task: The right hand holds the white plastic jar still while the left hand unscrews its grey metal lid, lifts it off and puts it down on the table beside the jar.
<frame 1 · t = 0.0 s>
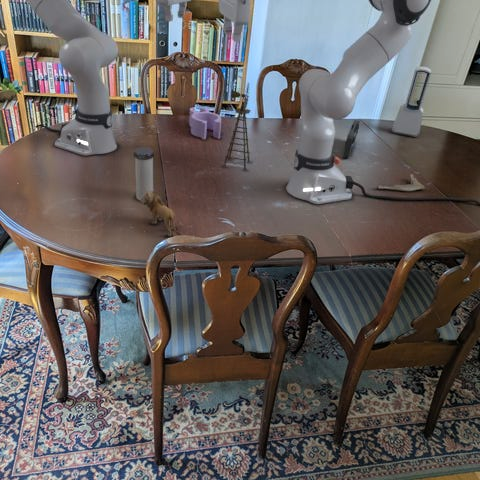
left hand: (175, 19, 144), 48 cm above the table, tool pointing down, fingers open, 8 cm apart
right hand: (231, 37, 127), 48 cm above the table, tool pointing down, fingers open, 8 cm apart
handheld gaming console: (349, 150, 197), on the table
lion figurine: (160, 226, 133), on the table
jar: (144, 197, 146), on the table
miniature windmill: (236, 164, 174), on the table
jawbone: (396, 185, 172), on the table
clip: (203, 131, 201), on the table
lid: (143, 151, 138), point 15 cm above the table, screwed on, not yet turned
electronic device: (404, 133, 222), on the table
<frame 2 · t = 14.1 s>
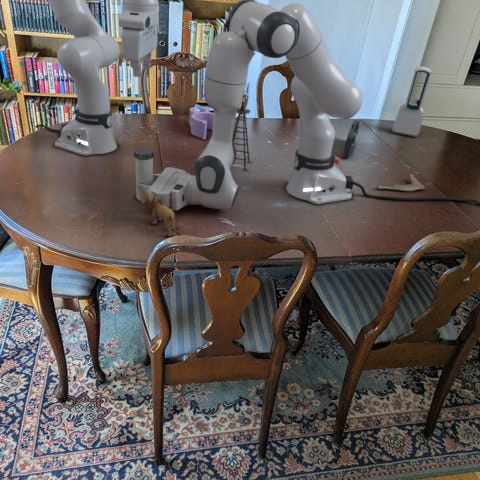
left hand: (142, 72, 126), 38 cm above the table, tool pointing down, fingers open, 8 cm apart
right hand: (141, 181, 143), 5 cm above the table, tool horizontal, fingers closed on jar, 5 cm apart
jar: (144, 197, 146), on the table, touching right hand
everything else where it was.
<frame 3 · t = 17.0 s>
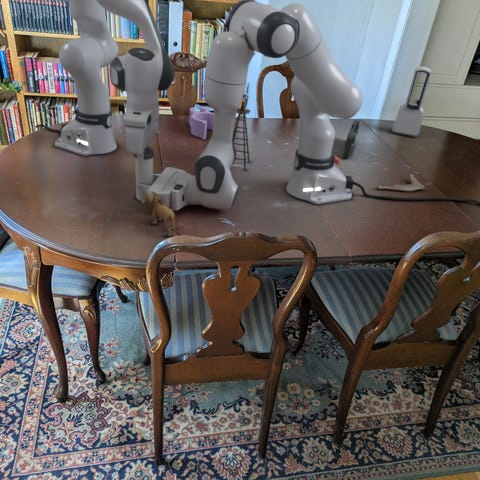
left hand: (143, 156, 139), 14 cm above the table, tool pointing down, fingers closed on lid, 5 cm apart
right hand: (141, 181, 143), 5 cm above the table, tool horizontal, fingers closed on jar, 5 cm apart
jar: (144, 197, 146), on the table, touching right hand
lid: (143, 151, 138), point 15 cm above the table, screwed on, not yet turned, touching left hand
everything else where it was.
when the left hand's fingers open (14 cm above the table, at t = 18.4 s): lid stays where it is, point 15 cm above the table.
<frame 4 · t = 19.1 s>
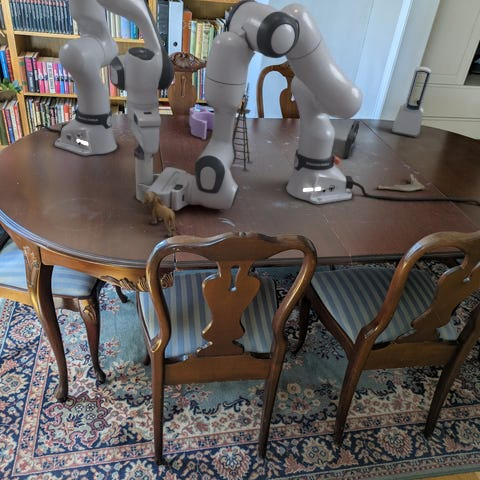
left hand: (143, 156, 139), 14 cm above the table, tool pointing down, fingers open, 8 cm apart
right hand: (141, 181, 143), 5 cm above the table, tool horizontal, fingers closed on jar, 5 cm apart
jar: (144, 197, 146), on the table, touching right hand
lid: (143, 151, 138), point 15 cm above the table, turned 84° so far, risen 0.2 cm, still on its thread
everything else where it was.
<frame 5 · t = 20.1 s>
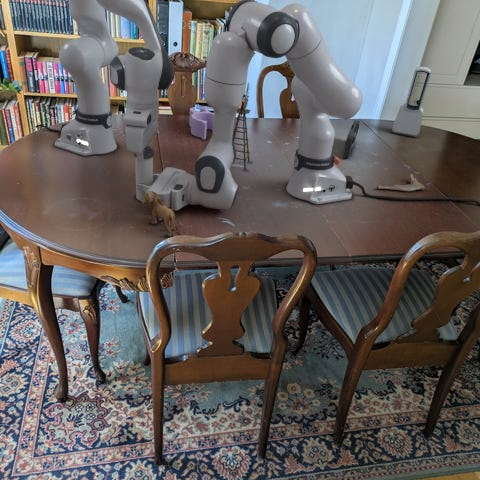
left hand: (143, 156, 139), 14 cm above the table, tool pointing down, fingers closed on lid, 5 cm apart
right hand: (141, 181, 143), 5 cm above the table, tool horizontal, fingers closed on jar, 5 cm apart
jar: (144, 197, 146), on the table, touching right hand
lid: (143, 151, 138), point 15 cm above the table, turned 84° so far, risen 0.2 cm, still on its thread, touching left hand
everything else where it was.
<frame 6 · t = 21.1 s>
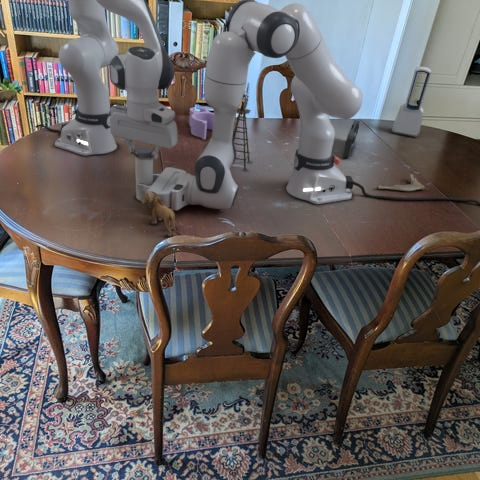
left hand: (144, 155, 139), 14 cm above the table, tool pointing down, fingers closed on lid, 5 cm apart
right hand: (141, 181, 143), 5 cm above the table, tool horizontal, fingers closed on jar, 5 cm apart
jar: (144, 197, 146), on the table, touching right hand
lid: (143, 150, 138), point 16 cm above the table, off its thread, touching left hand
everything else where it was.
when the left hand's fingers open (2 cm above the table, at t = 28.9 s): lid drops 2 cm, point 1 cm above the table.
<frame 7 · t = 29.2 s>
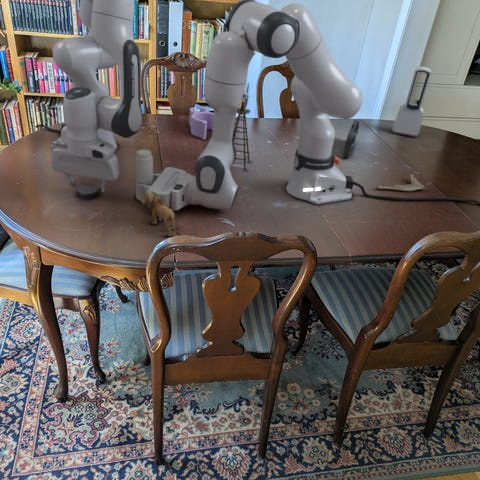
left hand: (87, 188, 143), 2 cm above the table, tool pointing down, fingers open, 8 cm apart
right hand: (141, 181, 143), 5 cm above the table, tool horizontal, fingers closed on jar, 5 cm apart
jar: (144, 197, 146), on the table, touching right hand
lid: (87, 190, 144), point 1 cm above the table, off its thread
everything else where it was.
when the right hand's fingers open (5 cm above the table, at t = 30.0 s): jar stays where it is, on the table.
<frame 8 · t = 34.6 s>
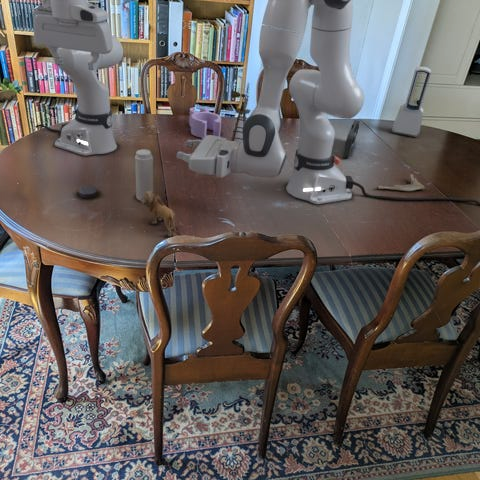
left hand: (75, 67, 124), 38 cm above the table, tool pointing down, fingers open, 8 cm apart
right hand: (182, 148, 135), 18 cm above the table, tool horizontal, fingers open, 8 cm apart
jar: (144, 197, 146), on the table
everything else where it was.
at the end: lid came off its thread; lid point 1.3 cm above the table; the left hand is holding nothing; the right hand is holding nothing; jar tilted 0°; jar moved 0.0 cm from its start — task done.
